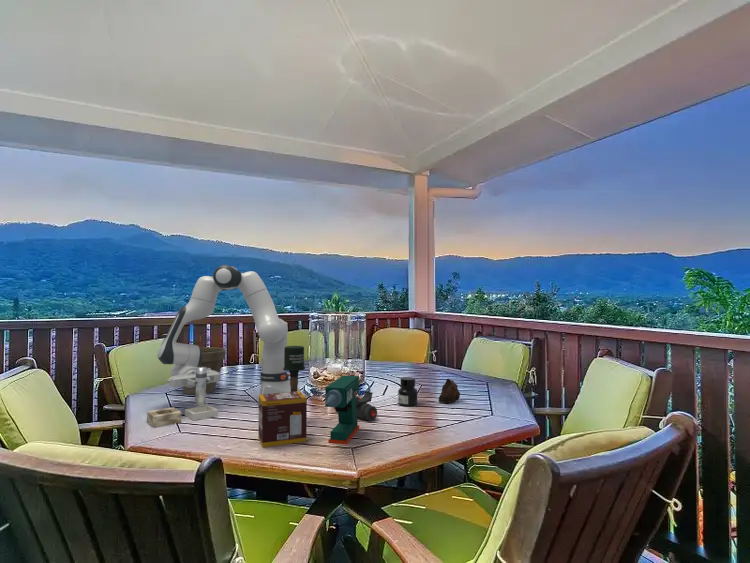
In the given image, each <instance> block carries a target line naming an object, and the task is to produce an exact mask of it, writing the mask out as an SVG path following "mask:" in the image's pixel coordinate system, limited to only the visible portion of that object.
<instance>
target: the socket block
mask: <svg viewBox="0 0 750 563" xmlns="http://www.w3.org/2000/svg"><path fill="white" fill-rule="evenodd" d="M146 411H147V410H146ZM146 422H147V423H148V424H149V423H150V424H151V426H152V427H153V428H159V426H160V427H164V426H163V425H165V426H169V424H170V425H175V423H176V424H180V423H182V411H180V410H178V409H177V408H175V407H174V406H172V407H166V408H159V409H154V410H150V411H149V410H148V411H147V412H146ZM150 424H149V425H150Z"/></svg>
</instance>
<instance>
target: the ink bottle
mask: <svg viewBox="0 0 750 563" xmlns="http://www.w3.org/2000/svg"><path fill="white" fill-rule="evenodd" d="M397 396H398V397H397V399H398V400H397V401H398V403H397V404H398V406H400V407H401V406H402V407H414V406H415V407H416V406H418V390H417V388H416V378H415V377H410V376H403V377H400V388H398V391H397Z"/></svg>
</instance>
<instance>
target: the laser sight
mask: <svg viewBox="0 0 750 563" xmlns="http://www.w3.org/2000/svg"><path fill="white" fill-rule="evenodd" d="M372 397H373V392H371V391H367V390H366V391H365V394H364V396H362V398H360V397H359V396H357V395H356V396H355V400H356V417H357V418H358V419H360V420H363V421H368V422H373V421H375V420H376V418H377V416H378V409H377V407H376V406H373V405H371V404H370V403H371V402H372ZM333 409H334V410H335V411H336V407H333Z"/></svg>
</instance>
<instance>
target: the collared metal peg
mask: <svg viewBox="0 0 750 563" xmlns="http://www.w3.org/2000/svg"><path fill="white" fill-rule="evenodd" d="M206 368H207V367H197V368H196V381H197V385H196V395H195V401H194V402H195V405H194V406H195V407H204V406H206V405H207V401H206V400H207V394H206V377H207V372H206Z"/></svg>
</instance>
